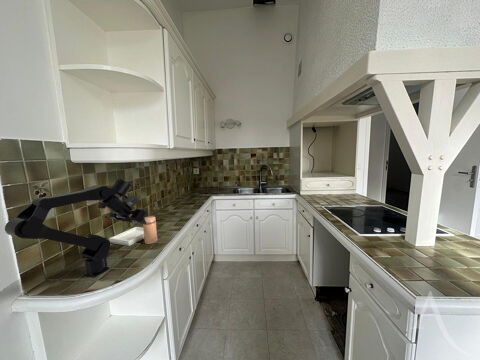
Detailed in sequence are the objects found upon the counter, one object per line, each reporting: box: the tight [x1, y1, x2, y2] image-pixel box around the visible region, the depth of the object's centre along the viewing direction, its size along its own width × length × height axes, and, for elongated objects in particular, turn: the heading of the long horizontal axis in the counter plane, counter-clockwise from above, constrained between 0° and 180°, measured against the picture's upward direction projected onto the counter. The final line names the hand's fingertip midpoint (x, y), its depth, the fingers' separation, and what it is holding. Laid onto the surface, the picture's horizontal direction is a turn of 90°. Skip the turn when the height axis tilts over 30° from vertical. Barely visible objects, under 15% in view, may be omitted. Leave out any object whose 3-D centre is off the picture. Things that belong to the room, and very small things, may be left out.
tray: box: [108, 226, 144, 247], centre depth 119 cm, size 18×14×2 cm
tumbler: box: [142, 215, 158, 245], centre depth 112 cm, size 7×7×13 cm
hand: (138, 222), depth 103 cm, fingers open, 9 cm apart
